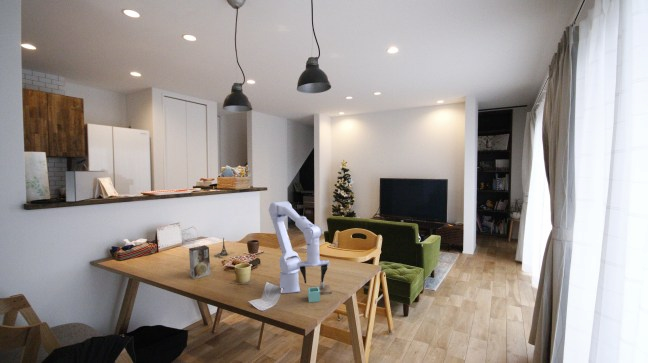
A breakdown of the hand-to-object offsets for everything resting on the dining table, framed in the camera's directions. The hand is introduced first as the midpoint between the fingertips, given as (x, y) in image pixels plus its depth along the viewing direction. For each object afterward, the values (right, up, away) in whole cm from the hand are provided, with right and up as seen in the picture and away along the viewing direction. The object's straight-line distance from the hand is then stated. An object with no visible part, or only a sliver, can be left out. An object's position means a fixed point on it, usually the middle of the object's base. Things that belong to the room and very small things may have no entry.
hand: (313, 282), depth 131 cm
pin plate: (+4, -8, +10) cm, 13 cm away
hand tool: (-41, -7, +43) cm, 60 cm away
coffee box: (-66, -8, +33) cm, 74 cm away
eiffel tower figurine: (-66, -7, +72) cm, 98 cm away
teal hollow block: (0, -8, 0) cm, 8 cm away
